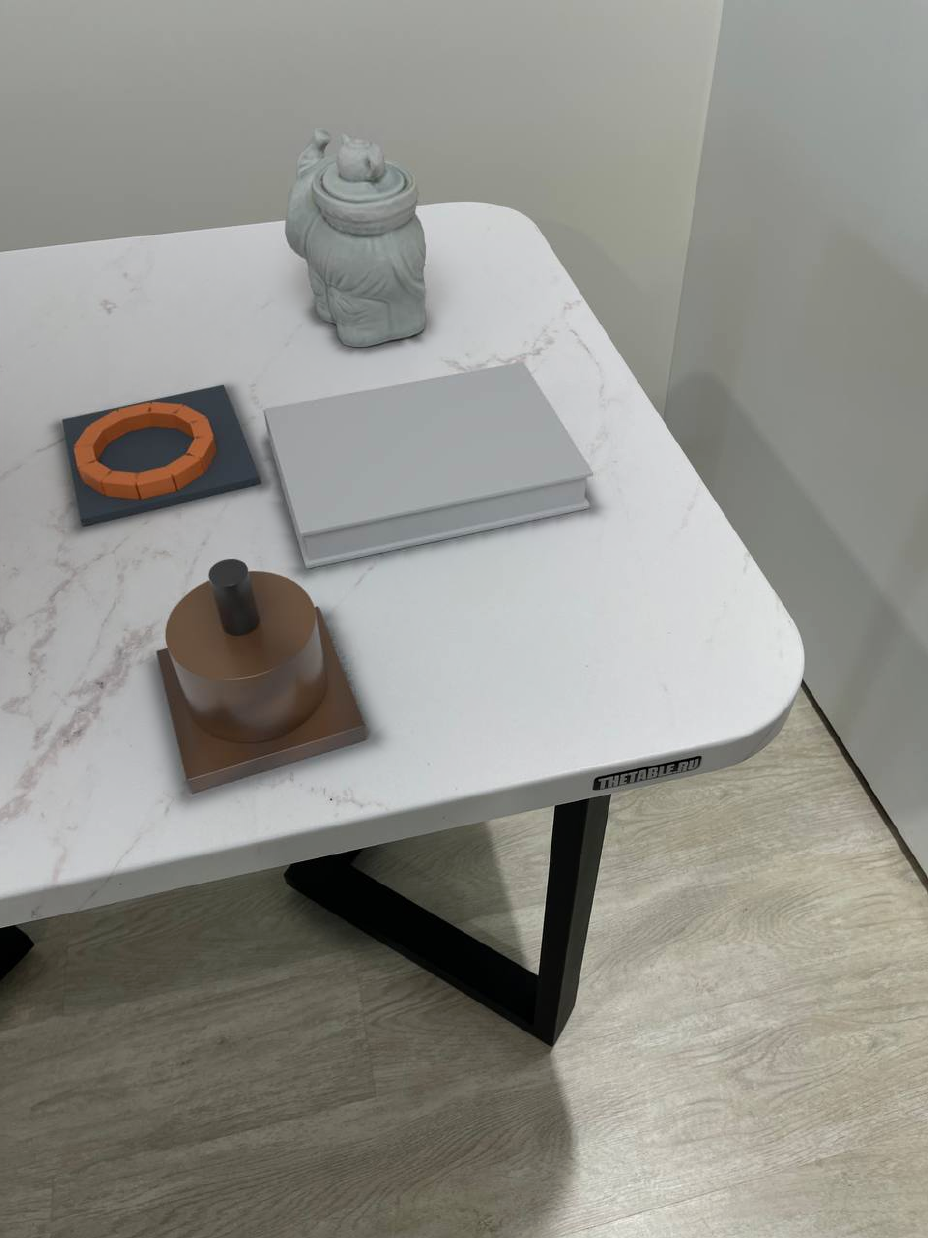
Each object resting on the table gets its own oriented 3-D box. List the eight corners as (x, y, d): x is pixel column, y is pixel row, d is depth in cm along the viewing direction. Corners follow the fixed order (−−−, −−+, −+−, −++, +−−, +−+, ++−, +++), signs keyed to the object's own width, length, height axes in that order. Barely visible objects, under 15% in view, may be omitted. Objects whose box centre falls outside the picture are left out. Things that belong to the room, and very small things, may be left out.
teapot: (315, 269, 113) (292, 89, 100) (448, 278, 111) (443, 96, 98) (272, 348, 102) (239, 159, 88) (419, 360, 100) (408, 168, 87)
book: (593, 472, 82) (299, 533, 77) (589, 508, 85) (306, 569, 80) (519, 354, 94) (261, 400, 89) (518, 389, 97) (268, 436, 92)
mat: (83, 526, 84) (80, 519, 83) (64, 426, 93) (61, 419, 93) (261, 483, 87) (259, 476, 87) (225, 391, 97) (223, 384, 96)
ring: (88, 512, 84) (83, 497, 83) (73, 434, 91) (68, 419, 90) (227, 479, 87) (223, 464, 85) (201, 406, 94) (197, 391, 93)
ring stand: (191, 794, 66) (144, 669, 57) (160, 664, 73) (114, 535, 64) (368, 739, 68) (350, 611, 59) (320, 619, 76) (298, 490, 67)
